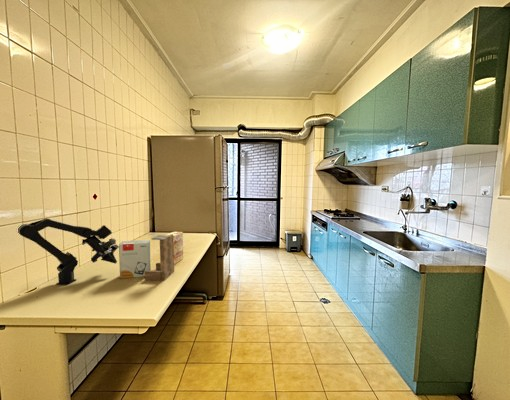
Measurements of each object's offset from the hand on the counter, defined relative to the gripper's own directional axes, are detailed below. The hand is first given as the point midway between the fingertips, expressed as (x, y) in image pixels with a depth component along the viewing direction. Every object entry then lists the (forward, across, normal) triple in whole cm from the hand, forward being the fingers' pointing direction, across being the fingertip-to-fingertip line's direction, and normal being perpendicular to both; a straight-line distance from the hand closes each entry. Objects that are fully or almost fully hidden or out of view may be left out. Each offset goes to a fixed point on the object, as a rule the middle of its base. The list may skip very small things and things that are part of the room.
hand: (116, 262), depth 143 cm
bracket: (+24, -2, -14) cm, 27 cm away
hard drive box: (+14, -1, -3) cm, 14 cm away
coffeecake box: (+24, +23, -13) cm, 35 cm away
